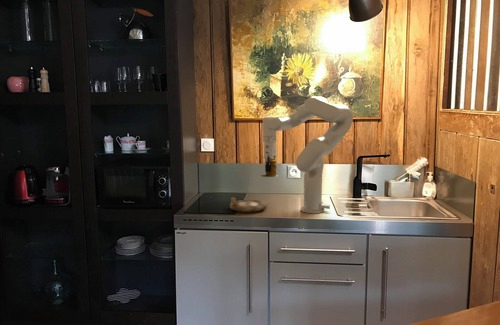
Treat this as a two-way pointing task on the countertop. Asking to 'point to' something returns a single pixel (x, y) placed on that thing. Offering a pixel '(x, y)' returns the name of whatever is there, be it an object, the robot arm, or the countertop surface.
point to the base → (247, 211)
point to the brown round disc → (247, 205)
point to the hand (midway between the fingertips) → (269, 170)
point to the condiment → (273, 169)
